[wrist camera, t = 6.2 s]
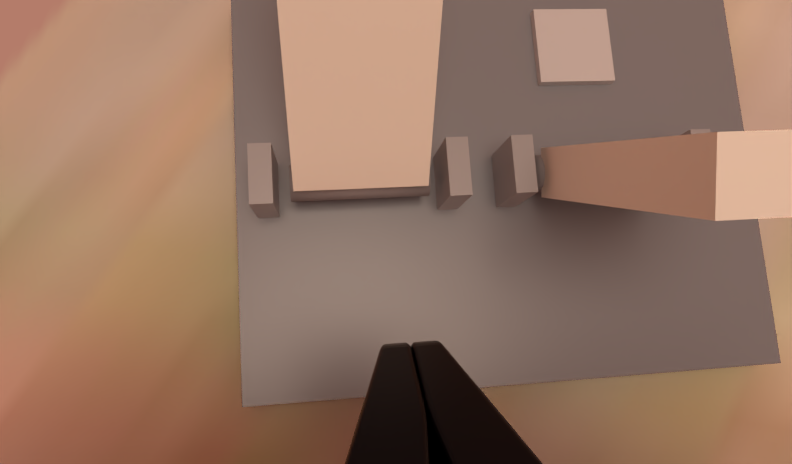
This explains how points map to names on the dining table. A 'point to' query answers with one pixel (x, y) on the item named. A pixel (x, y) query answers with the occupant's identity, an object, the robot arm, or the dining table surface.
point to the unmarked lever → (677, 174)
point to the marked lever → (359, 96)
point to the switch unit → (500, 212)
